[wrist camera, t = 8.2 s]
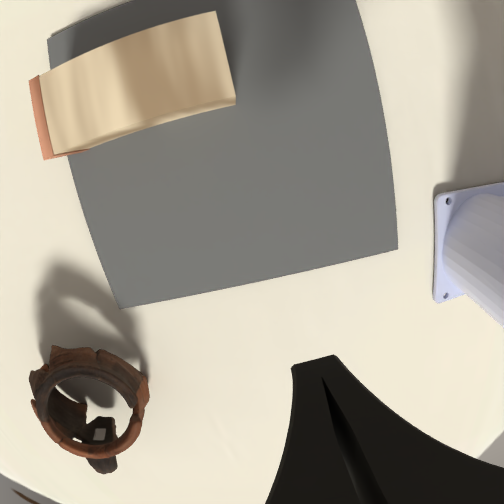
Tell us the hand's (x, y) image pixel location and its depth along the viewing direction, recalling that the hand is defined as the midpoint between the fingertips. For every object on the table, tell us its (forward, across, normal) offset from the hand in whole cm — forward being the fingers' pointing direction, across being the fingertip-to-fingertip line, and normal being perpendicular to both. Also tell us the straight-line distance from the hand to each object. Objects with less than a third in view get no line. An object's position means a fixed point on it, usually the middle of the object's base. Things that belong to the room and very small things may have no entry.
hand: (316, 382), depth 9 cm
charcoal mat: (+10, +1, -8) cm, 13 cm away
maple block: (+8, 0, -11) cm, 14 cm away
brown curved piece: (+11, +16, +8) cm, 21 cm away
